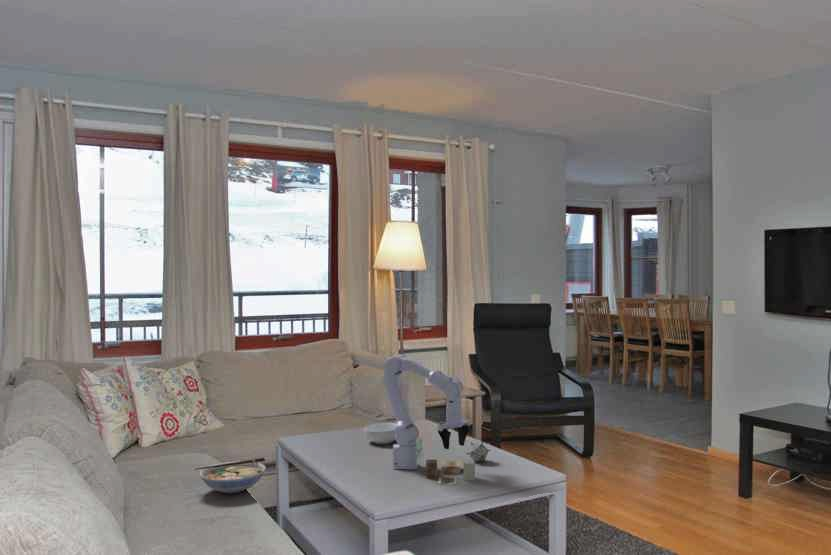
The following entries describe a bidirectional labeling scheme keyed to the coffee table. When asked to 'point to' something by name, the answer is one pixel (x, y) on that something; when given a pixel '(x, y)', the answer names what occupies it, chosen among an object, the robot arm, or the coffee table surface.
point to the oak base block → (450, 467)
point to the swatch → (447, 480)
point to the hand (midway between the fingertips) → (454, 447)
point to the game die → (478, 452)
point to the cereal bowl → (381, 433)
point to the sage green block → (469, 470)
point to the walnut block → (431, 469)
